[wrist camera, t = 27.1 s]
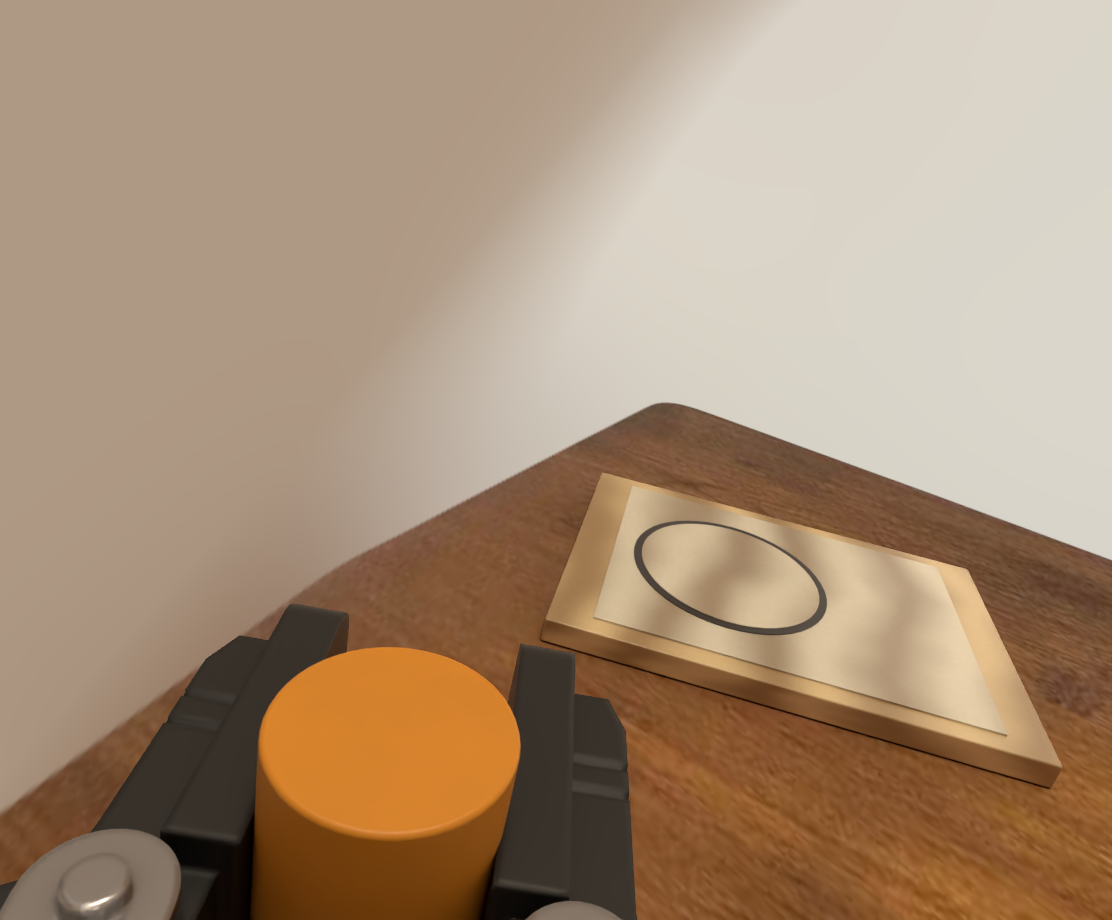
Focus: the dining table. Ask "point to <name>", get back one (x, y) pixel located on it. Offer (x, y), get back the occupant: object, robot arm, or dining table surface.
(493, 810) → the marker
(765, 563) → the drawing board
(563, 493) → the dining table surface
